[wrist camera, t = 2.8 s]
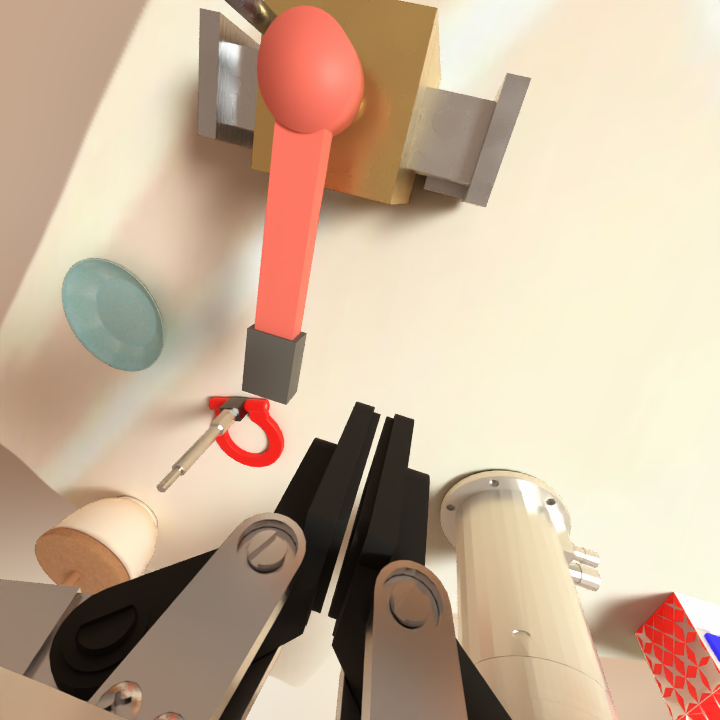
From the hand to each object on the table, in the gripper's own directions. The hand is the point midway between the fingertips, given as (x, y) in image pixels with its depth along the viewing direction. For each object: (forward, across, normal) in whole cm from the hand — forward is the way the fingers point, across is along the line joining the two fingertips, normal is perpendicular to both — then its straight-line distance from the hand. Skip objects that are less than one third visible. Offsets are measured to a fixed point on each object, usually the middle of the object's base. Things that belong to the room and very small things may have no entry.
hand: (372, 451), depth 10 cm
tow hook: (+23, +14, +21) cm, 34 cm away
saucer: (+23, +29, +11) cm, 39 cm away
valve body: (+22, +7, -10) cm, 25 cm away
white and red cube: (+22, -38, +27) cm, 52 cm away
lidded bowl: (+22, +30, +43) cm, 57 cm away
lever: (+10, +7, -3) cm, 13 cm away
